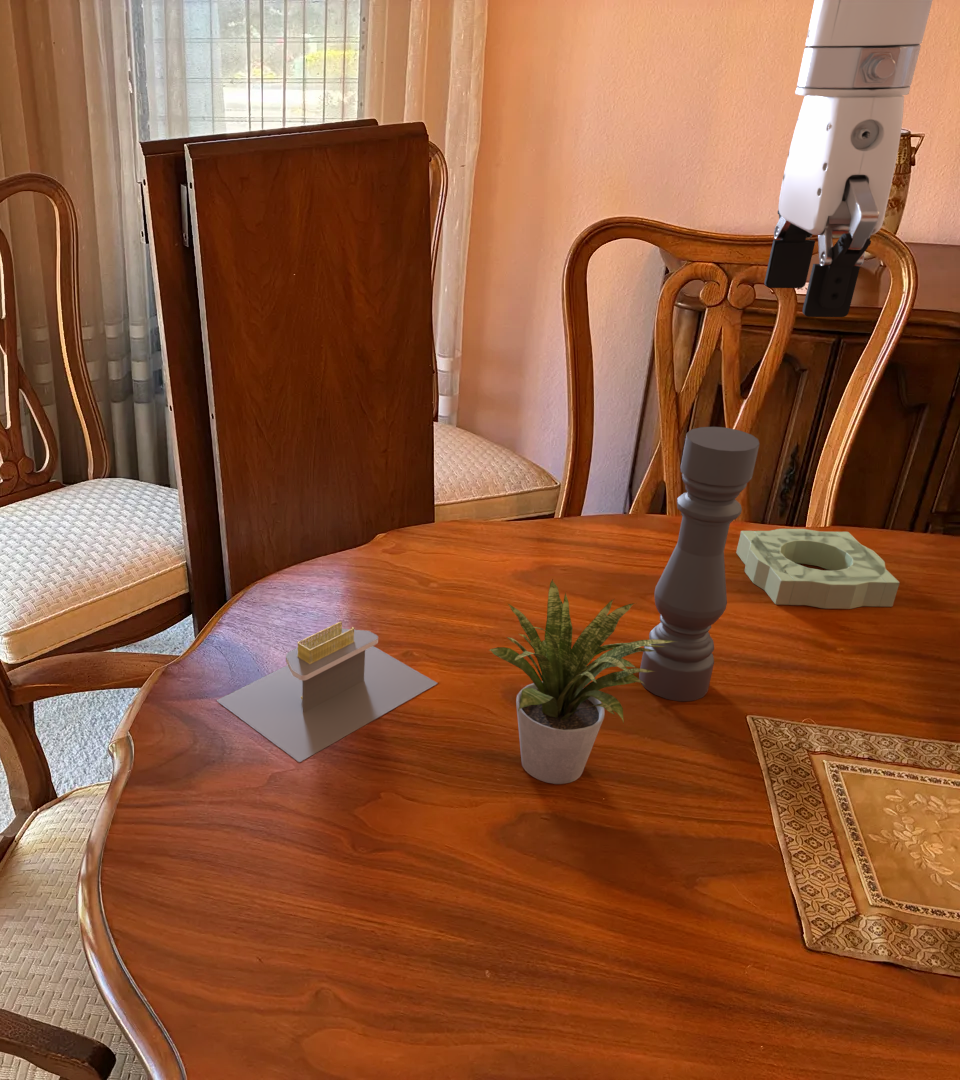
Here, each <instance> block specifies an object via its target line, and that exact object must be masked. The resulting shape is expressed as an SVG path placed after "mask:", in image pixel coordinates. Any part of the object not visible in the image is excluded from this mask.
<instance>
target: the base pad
mask: <svg viewBox="0 0 960 1080" xmlns="http://www.w3.org/2000/svg"><path fill="white" fill-rule="evenodd" d="M735 553H736V555H737V556H738V557H739V558H740V560H741V562H742V563H743V564H744V573H745V574H746V576H747V577H748V578H749V580H750V581H751V582H752V584H754V585H755V586H756V587H758V588H760V589H761V590H763V591H764V592H765V593H766V594H767V595H768V597H769V598H770V599H771V601H772V602H773V603H774V605H776V606H777V605H778V606H779V605H780V606H806V607H807V606H808V607H814V608H817V609H818V608H819V609H826V610H828V609H831V610H832V609H833V610H835V609H836V610H851V609H857V608H860V607H882V608H883V607H885V608H890V607H891V608H892V607H893V606H894V603H895V600H896V596H897V592H898V589H899V586H900V581H899V580H898V579H897V578H896V577H895V576H894V575H893V574H892V573H891V572H890V571H889V570H887V568H886V562H885V560H884V559H883V558H881V556H879V554H877V553H876V552H875V551H874V550H873V549H871V548H869V547H867V546H865V545H863V544H861V543H860V542H859V540H857V539H856V538H855V537H854V536H853V534H851V533H850V532H849V531H820V530H814V529H807V528H776V529H771V530H740V533H739V539H738V543H737V547H736V551H735ZM801 564H802V565H801ZM804 565H810V566H815V567H818V568H821V569H818V568H812V567H807V566H804ZM823 569H824V570H823Z"/></svg>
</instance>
